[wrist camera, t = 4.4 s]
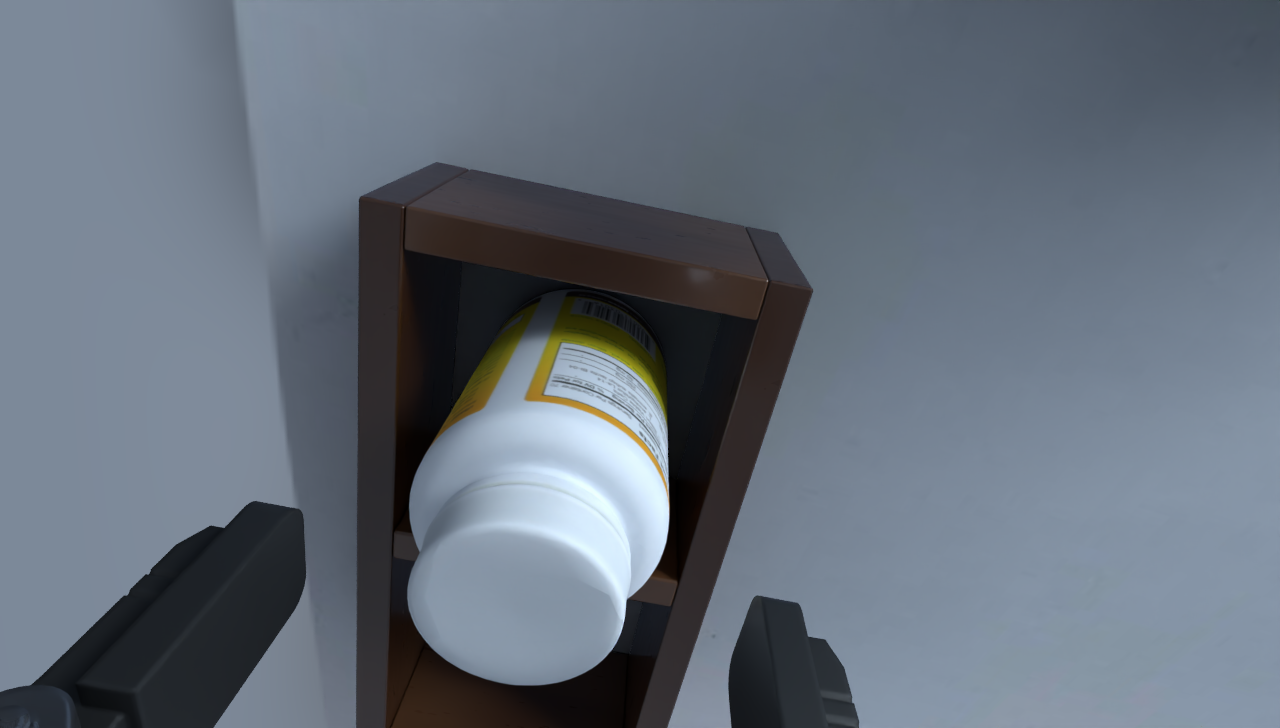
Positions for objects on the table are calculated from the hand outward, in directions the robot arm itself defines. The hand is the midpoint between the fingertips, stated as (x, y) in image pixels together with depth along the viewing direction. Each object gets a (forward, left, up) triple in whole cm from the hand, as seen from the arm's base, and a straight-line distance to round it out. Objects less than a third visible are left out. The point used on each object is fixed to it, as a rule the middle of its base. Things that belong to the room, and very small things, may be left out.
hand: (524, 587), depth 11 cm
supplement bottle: (0, 0, -10) cm, 10 cm away
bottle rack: (0, -5, -10) cm, 11 cm away
